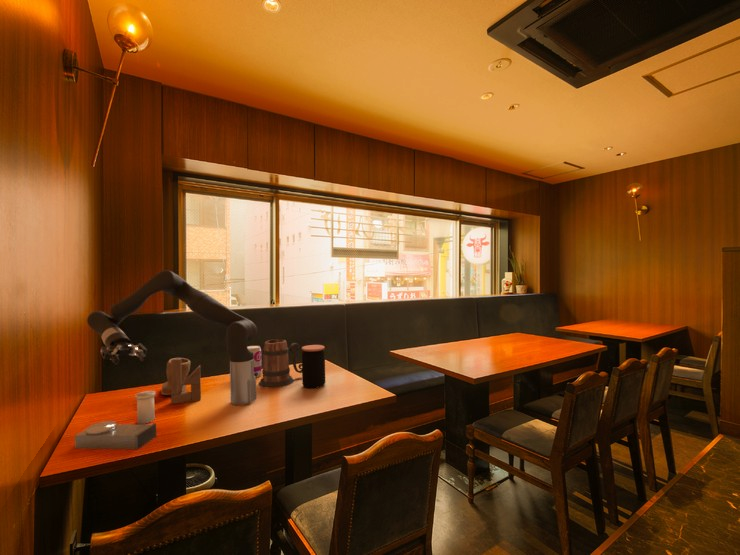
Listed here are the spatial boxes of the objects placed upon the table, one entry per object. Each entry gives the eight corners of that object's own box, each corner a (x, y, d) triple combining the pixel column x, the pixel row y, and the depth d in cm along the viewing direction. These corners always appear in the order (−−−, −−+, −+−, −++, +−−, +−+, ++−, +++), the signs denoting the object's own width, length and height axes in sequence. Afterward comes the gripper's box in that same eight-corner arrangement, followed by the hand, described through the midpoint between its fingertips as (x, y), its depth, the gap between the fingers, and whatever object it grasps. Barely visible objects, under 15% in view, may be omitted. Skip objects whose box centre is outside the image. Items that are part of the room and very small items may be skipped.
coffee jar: (330, 384, 166) (329, 346, 166) (314, 390, 157) (314, 350, 157) (312, 380, 172) (312, 343, 172) (297, 386, 163) (296, 348, 163)
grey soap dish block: (156, 436, 114) (155, 420, 114) (137, 449, 106) (137, 432, 106) (97, 436, 115) (97, 420, 115) (74, 448, 107) (74, 431, 107)
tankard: (265, 390, 159) (264, 346, 158) (253, 381, 172) (252, 340, 172) (312, 380, 173) (311, 339, 173) (297, 372, 186) (296, 335, 186)
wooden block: (200, 400, 147) (199, 357, 147) (171, 404, 143) (170, 360, 142) (201, 397, 150) (200, 355, 150) (172, 401, 146) (171, 358, 146)
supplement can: (265, 374, 184) (264, 346, 183) (253, 379, 176) (253, 349, 176) (253, 373, 187) (252, 345, 187) (241, 377, 179) (240, 348, 179)
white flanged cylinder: (159, 417, 129) (159, 390, 129) (148, 424, 123) (147, 396, 123) (144, 417, 130) (143, 390, 130) (132, 424, 124) (131, 396, 124)
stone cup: (191, 394, 155) (190, 360, 155) (159, 399, 150) (158, 363, 150) (191, 384, 169) (190, 353, 168) (162, 389, 163) (161, 356, 163)
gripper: (96, 333, 135) (111, 354, 126) (137, 330, 147) (153, 349, 138) (92, 350, 136) (106, 372, 128) (133, 346, 148) (149, 366, 139)
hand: (131, 360), depth 133 cm, fingers open, 8 cm apart
